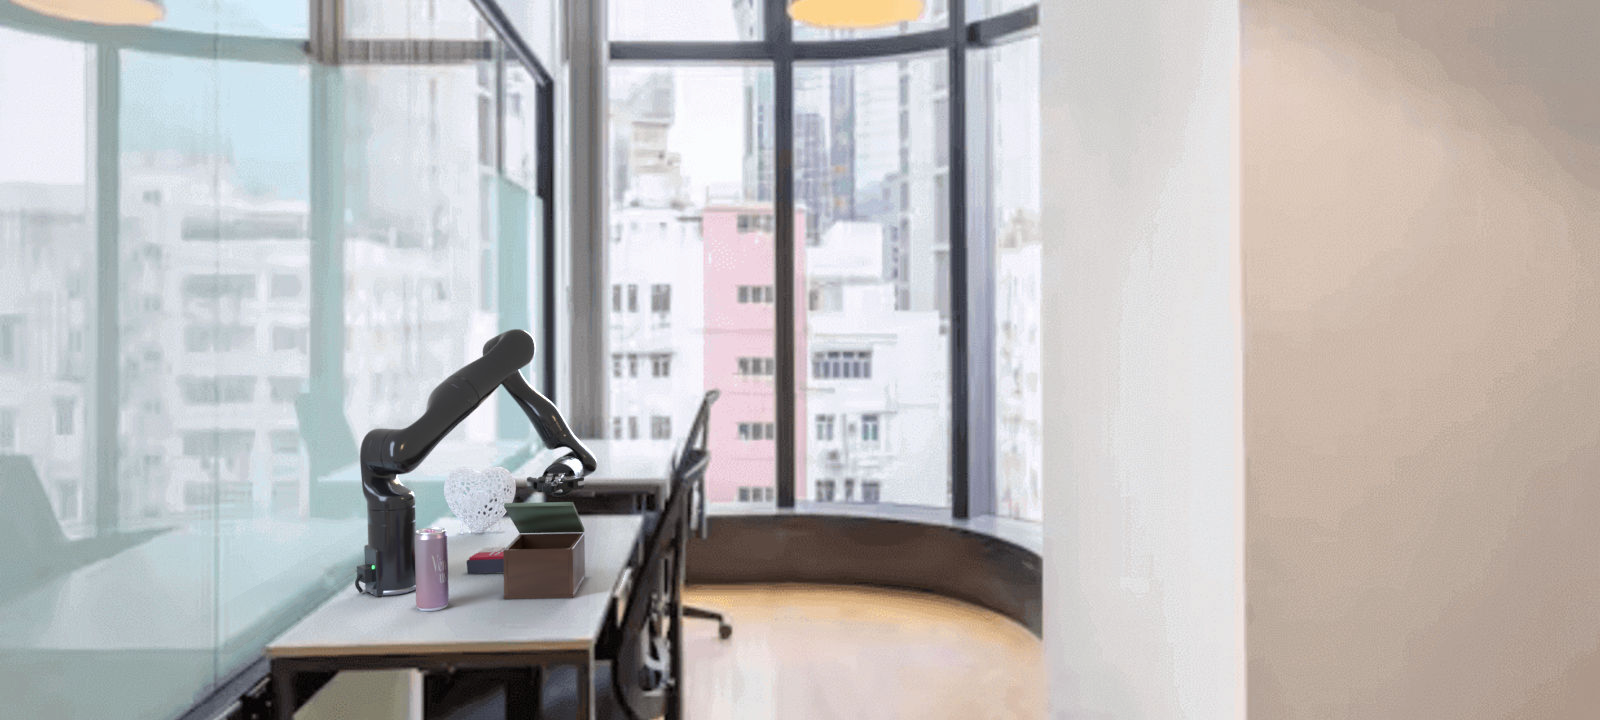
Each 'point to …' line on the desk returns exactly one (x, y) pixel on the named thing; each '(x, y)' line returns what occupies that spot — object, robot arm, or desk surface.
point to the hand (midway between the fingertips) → (548, 489)
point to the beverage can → (431, 569)
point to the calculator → (486, 561)
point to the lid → (545, 517)
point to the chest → (544, 566)
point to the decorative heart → (479, 496)
